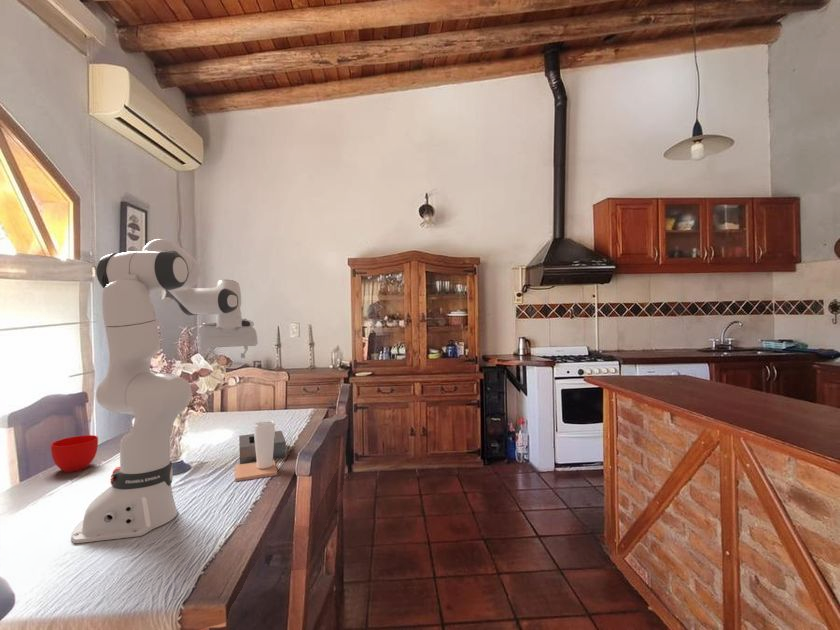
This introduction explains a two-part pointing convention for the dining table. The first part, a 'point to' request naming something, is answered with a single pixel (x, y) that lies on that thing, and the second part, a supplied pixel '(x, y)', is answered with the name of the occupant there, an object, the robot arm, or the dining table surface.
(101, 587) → the dining table surface
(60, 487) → the dining table surface
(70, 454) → the red bowl
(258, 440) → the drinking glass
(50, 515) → the dining table surface
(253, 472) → the terracotta tile
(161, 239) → the robot arm
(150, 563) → the dining table surface
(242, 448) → the holder block
